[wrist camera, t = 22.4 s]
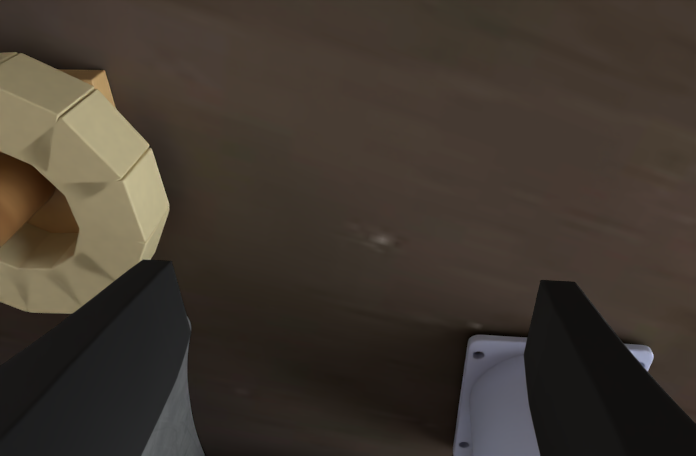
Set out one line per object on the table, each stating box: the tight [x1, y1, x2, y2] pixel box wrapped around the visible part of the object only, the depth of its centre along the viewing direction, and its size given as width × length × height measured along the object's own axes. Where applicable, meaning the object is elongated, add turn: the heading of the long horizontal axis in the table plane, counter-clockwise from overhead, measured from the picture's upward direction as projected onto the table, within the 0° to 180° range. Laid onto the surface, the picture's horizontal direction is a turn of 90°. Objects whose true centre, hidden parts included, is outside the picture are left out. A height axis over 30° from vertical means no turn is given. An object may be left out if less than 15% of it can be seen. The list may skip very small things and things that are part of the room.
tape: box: [0, 52, 170, 314], centre depth 21 cm, size 10×10×2 cm
